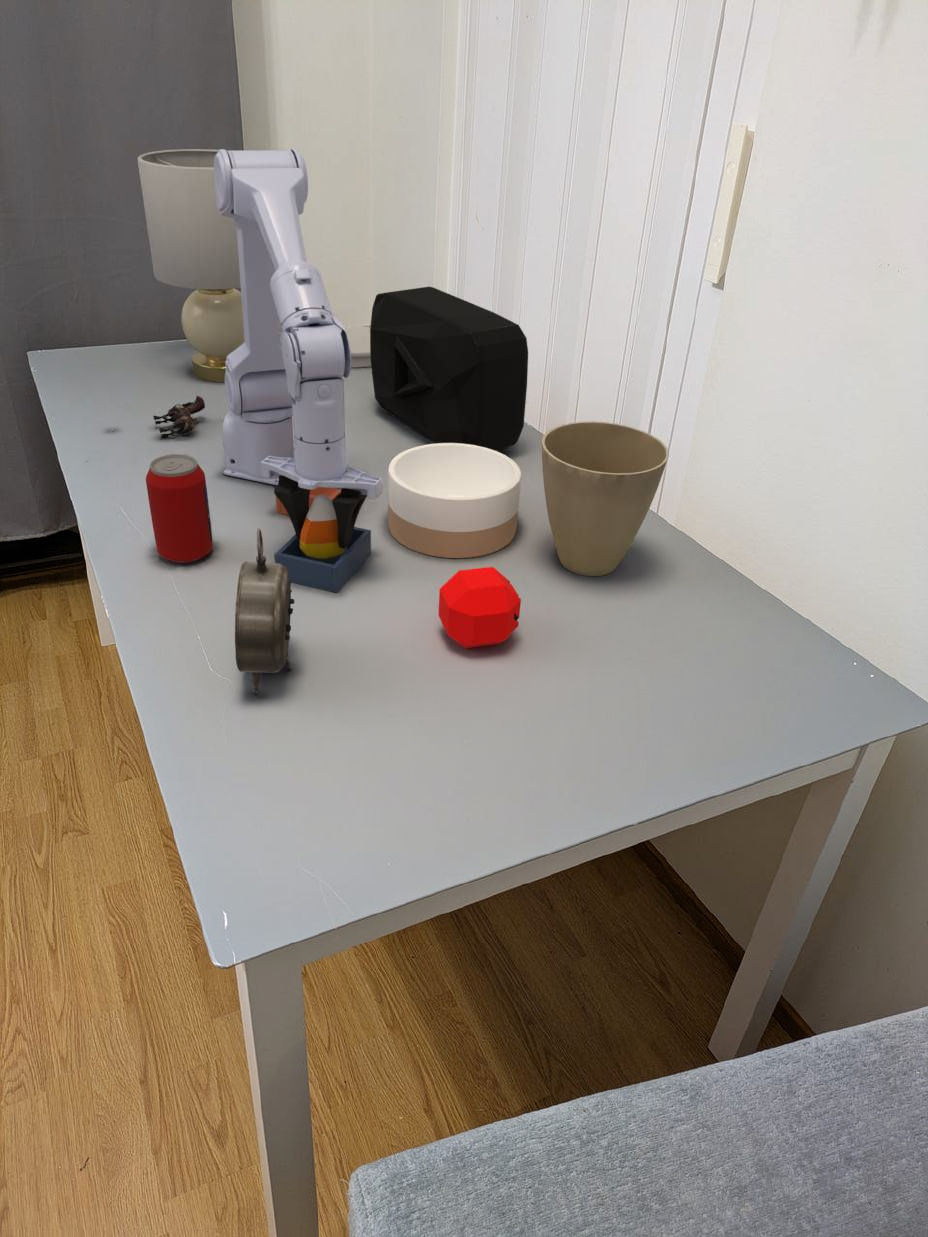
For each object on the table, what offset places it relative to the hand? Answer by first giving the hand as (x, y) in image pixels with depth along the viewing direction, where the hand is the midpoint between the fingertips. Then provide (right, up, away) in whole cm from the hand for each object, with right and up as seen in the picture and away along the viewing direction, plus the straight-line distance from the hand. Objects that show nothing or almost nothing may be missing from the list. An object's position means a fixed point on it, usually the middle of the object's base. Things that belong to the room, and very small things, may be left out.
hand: (323, 539), depth 110 cm
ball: (+18, -12, -9) cm, 23 cm away
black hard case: (+12, +21, +39) cm, 46 cm away
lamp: (-27, +36, +57) cm, 72 cm away
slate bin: (0, -3, +2) cm, 4 cm away
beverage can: (-18, -2, +3) cm, 18 cm away
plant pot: (+33, -3, +6) cm, 33 cm away
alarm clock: (-3, -15, -15) cm, 22 cm away
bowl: (+15, +3, +12) cm, 20 cm away
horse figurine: (-30, +20, +33) cm, 49 cm away
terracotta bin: (-3, +6, +16) cm, 17 cm away
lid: (-6, +42, +69) cm, 81 cm away
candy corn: (0, -2, +1) cm, 2 cm away
